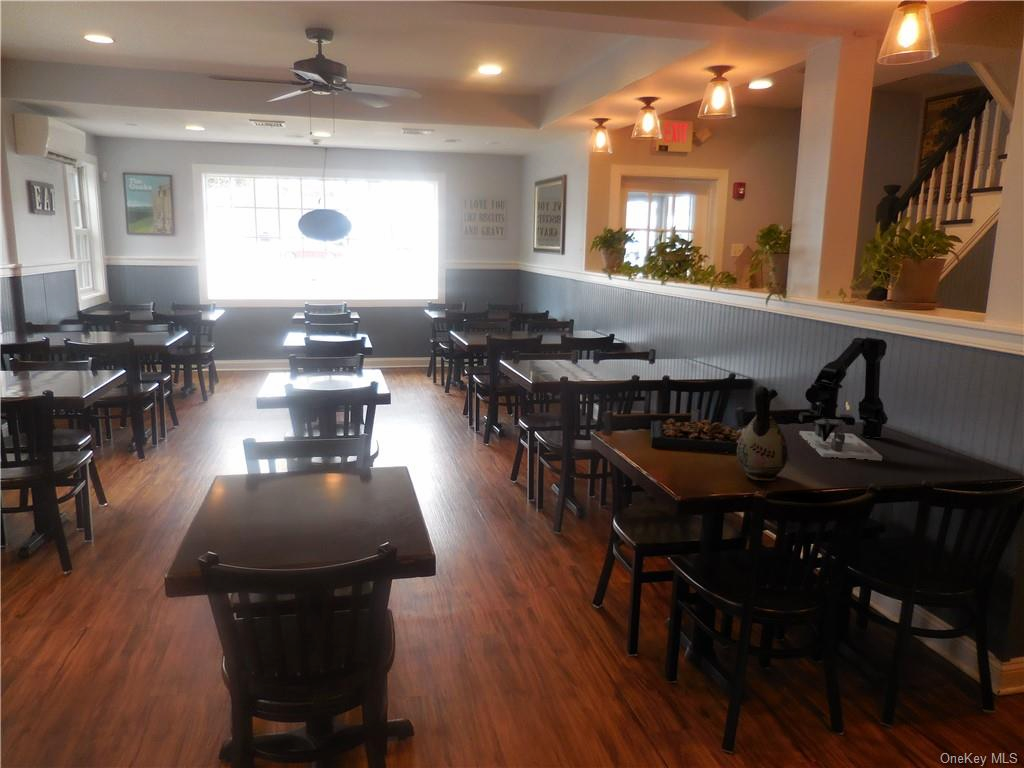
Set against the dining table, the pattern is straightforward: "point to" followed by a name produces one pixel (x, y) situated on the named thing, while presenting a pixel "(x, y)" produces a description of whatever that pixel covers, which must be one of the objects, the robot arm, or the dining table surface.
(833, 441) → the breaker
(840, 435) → the block
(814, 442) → the switch panel
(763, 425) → the ceramic jug
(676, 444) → the food platter
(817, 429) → the block
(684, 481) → the dining table surface
